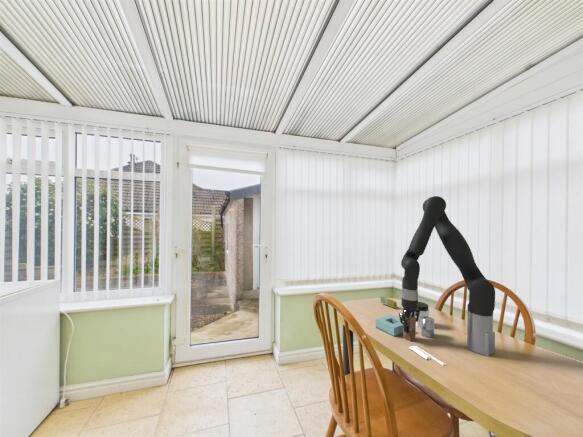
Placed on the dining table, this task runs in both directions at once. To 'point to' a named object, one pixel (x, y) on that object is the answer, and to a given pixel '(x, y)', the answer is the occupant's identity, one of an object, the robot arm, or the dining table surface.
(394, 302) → the medication box
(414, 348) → the white long flat piece
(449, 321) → the dining table surface
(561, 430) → the dining table surface
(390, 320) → the socket block
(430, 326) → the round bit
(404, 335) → the square peg
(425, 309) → the jar
